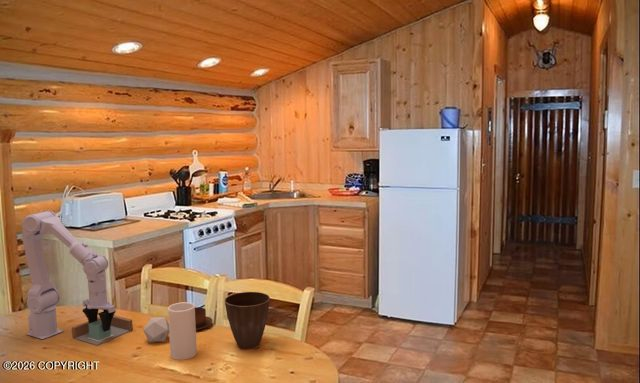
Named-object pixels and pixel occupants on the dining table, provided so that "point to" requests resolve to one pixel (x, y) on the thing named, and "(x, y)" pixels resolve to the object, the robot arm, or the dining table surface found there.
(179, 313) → the cup
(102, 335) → the teal cube
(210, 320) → the cup and saucer
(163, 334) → the die
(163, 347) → the dining table surface
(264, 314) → the plant pot
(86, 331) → the tray
